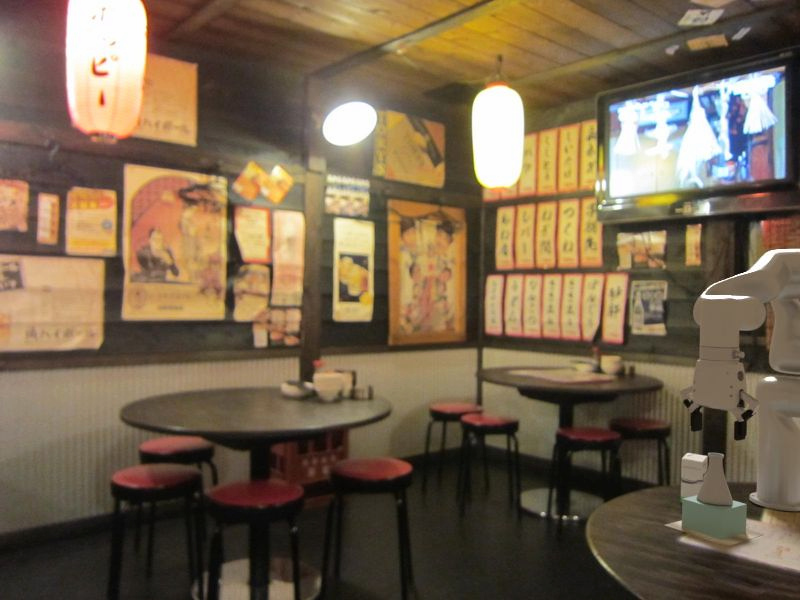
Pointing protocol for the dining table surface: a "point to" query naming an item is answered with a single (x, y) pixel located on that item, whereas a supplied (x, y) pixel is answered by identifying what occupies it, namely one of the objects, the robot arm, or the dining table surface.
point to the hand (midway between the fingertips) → (717, 435)
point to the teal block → (714, 518)
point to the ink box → (692, 474)
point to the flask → (715, 483)
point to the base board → (725, 542)
